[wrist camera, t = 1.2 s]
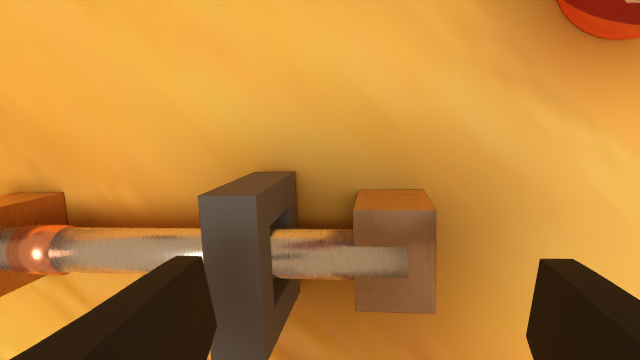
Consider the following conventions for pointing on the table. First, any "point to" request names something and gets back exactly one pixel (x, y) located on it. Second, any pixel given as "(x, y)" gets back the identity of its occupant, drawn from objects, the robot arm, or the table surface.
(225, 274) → the collar
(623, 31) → the paper cup
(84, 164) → the table surface
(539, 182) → the table surface
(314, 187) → the table surface
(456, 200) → the table surface
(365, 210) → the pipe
